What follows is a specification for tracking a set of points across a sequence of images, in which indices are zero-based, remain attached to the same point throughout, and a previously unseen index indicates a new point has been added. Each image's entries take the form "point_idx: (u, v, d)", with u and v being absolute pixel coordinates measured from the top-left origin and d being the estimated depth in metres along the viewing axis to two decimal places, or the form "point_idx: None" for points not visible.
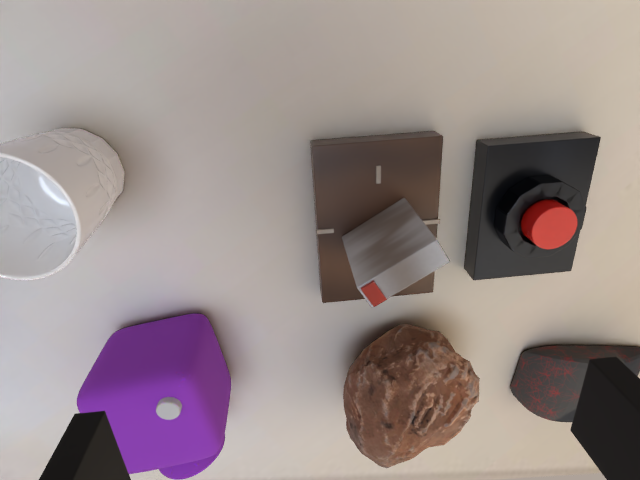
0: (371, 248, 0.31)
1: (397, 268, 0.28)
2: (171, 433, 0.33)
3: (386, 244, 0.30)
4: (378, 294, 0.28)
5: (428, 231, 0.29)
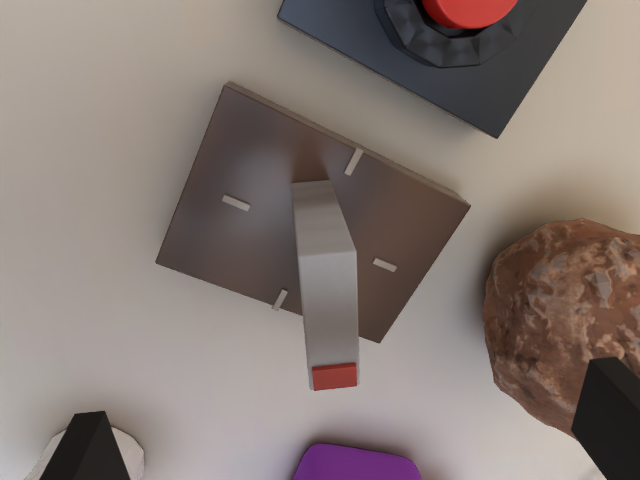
0: None
1: (314, 330, 0.16)
2: None
3: None
4: (338, 373, 0.16)
5: (296, 241, 0.16)
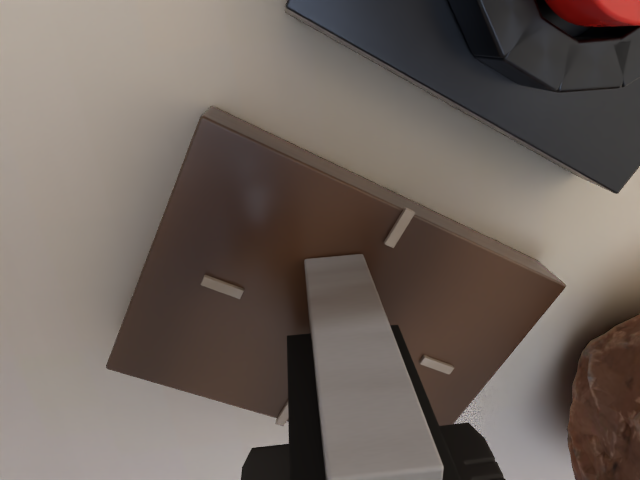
0: None
1: None
2: None
3: None
4: None
5: (320, 419, 0.08)
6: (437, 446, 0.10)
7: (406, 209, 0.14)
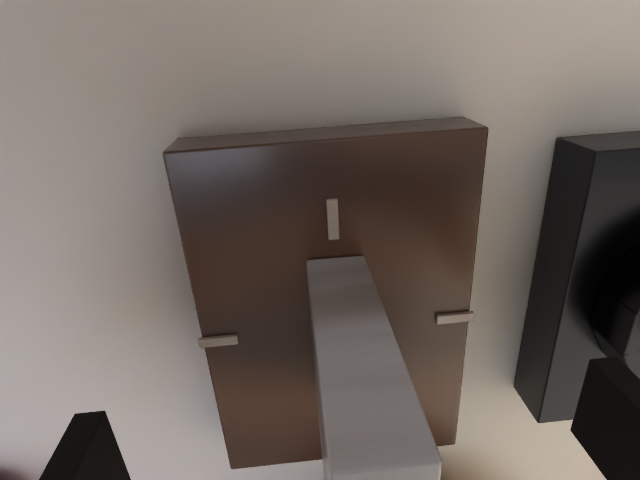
0: (323, 457, 0.12)
1: None
2: None
3: (323, 448, 0.11)
4: None
5: (323, 414, 0.09)
6: None
7: (473, 313, 0.16)
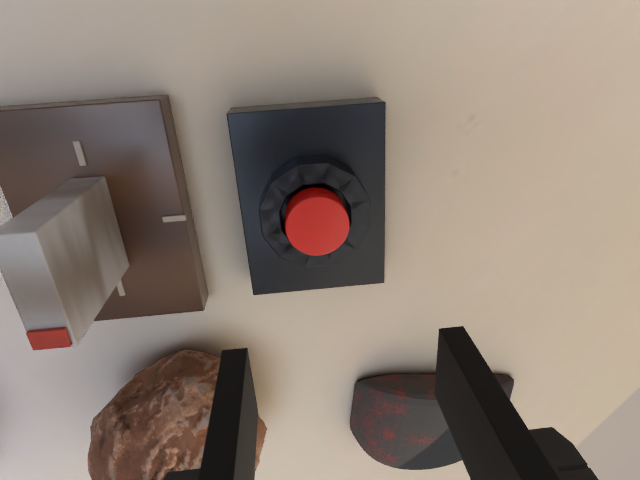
0: None
1: (20, 298, 0.19)
2: None
3: None
4: (50, 335, 0.20)
5: None
6: (531, 452, 0.09)
7: (184, 215, 0.26)
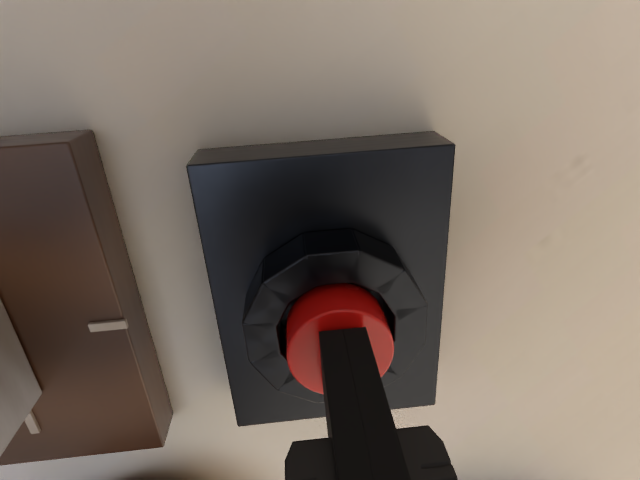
0: None
1: None
2: None
3: None
4: None
5: None
6: (391, 449, 0.10)
7: (124, 321, 0.16)
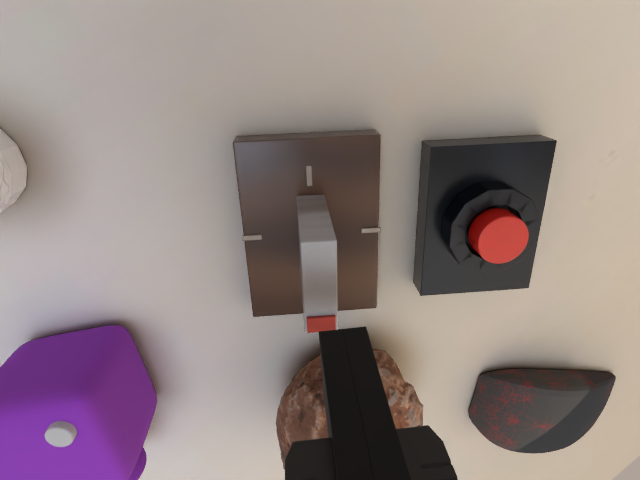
0: None
1: (309, 290, 0.25)
2: (67, 462, 0.29)
3: None
4: (324, 321, 0.25)
5: (299, 234, 0.25)
6: (391, 449, 0.10)
7: (379, 228, 0.32)
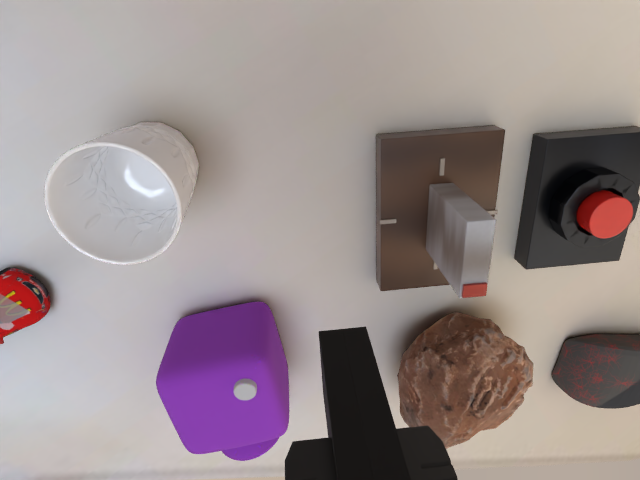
0: (444, 252, 0.33)
1: (468, 262, 0.30)
2: (244, 414, 0.35)
3: (447, 243, 0.32)
4: (477, 287, 0.30)
5: (459, 215, 0.30)
6: (391, 449, 0.10)
7: None
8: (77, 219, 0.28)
